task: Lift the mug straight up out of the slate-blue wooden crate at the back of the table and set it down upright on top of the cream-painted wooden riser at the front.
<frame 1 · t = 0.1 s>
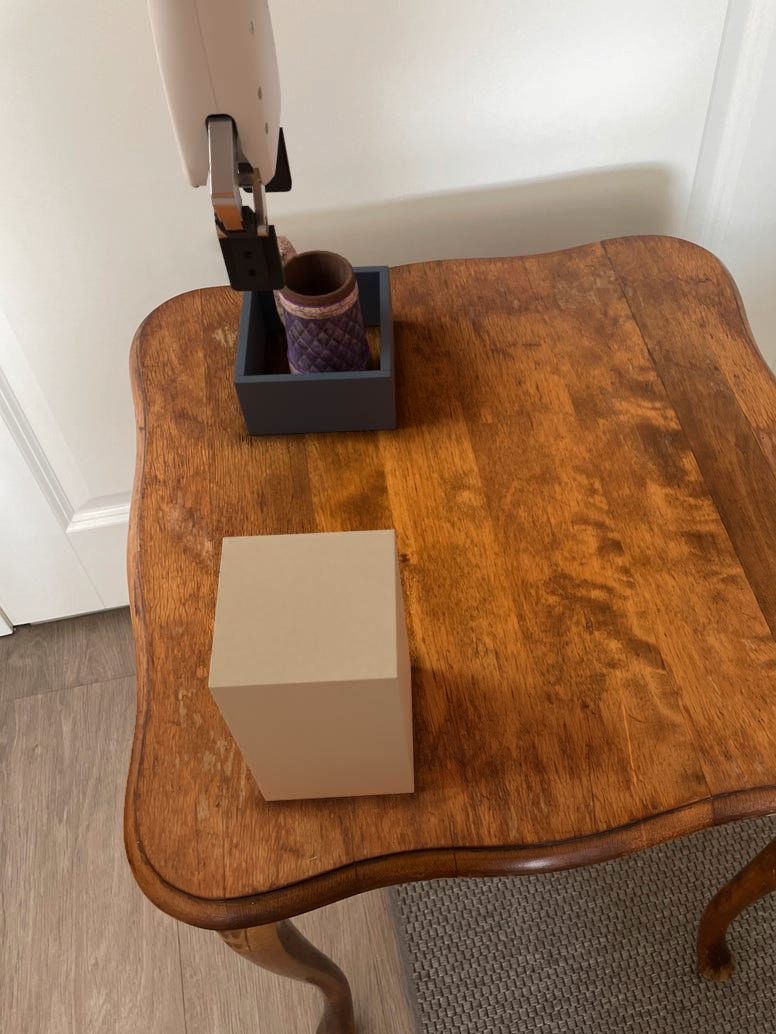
hand: (263, 236, 59), 22 cm above the table, tool pointing down, fingers open, 9 cm apart
mug: (324, 376, 84), resting in crate
riser: (341, 730, 66), on the table
crate: (324, 375, 84), on the table
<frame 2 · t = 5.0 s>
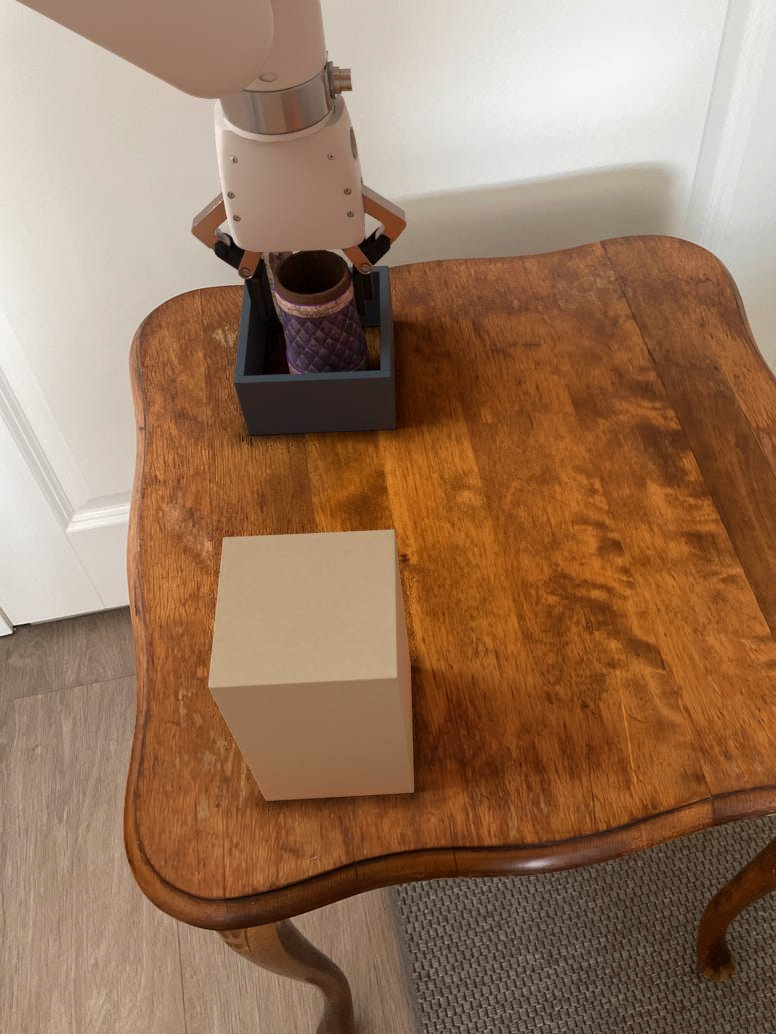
hand: (314, 305, 78), 7 cm above the table, tool pointing down, fingers closed on mug, 7 cm apart
mug: (324, 376, 84), resting in crate, touching gripper
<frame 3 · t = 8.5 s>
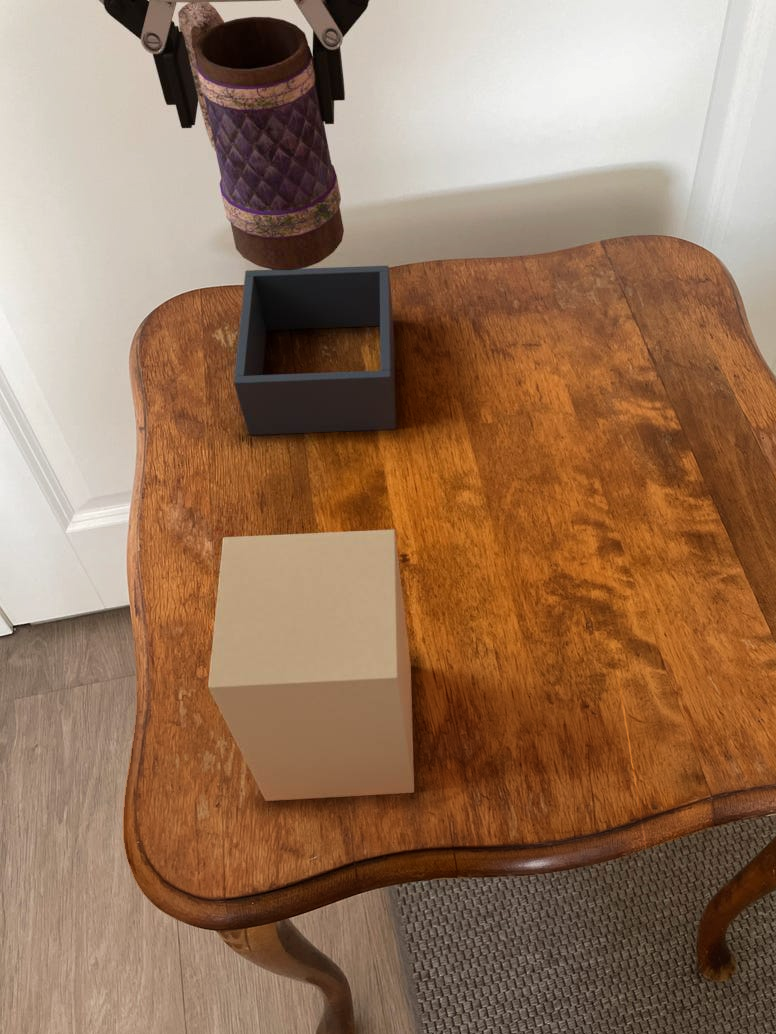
hand: (259, 111, 54), 29 cm above the table, tool pointing down, fingers closed on mug, 7 cm apart
mug: (277, 231, 60), point 22 cm above the table, touching gripper
when the fingers open (23 cm above the table, at t = 12.3 s): mug stays where it is, resting on riser.
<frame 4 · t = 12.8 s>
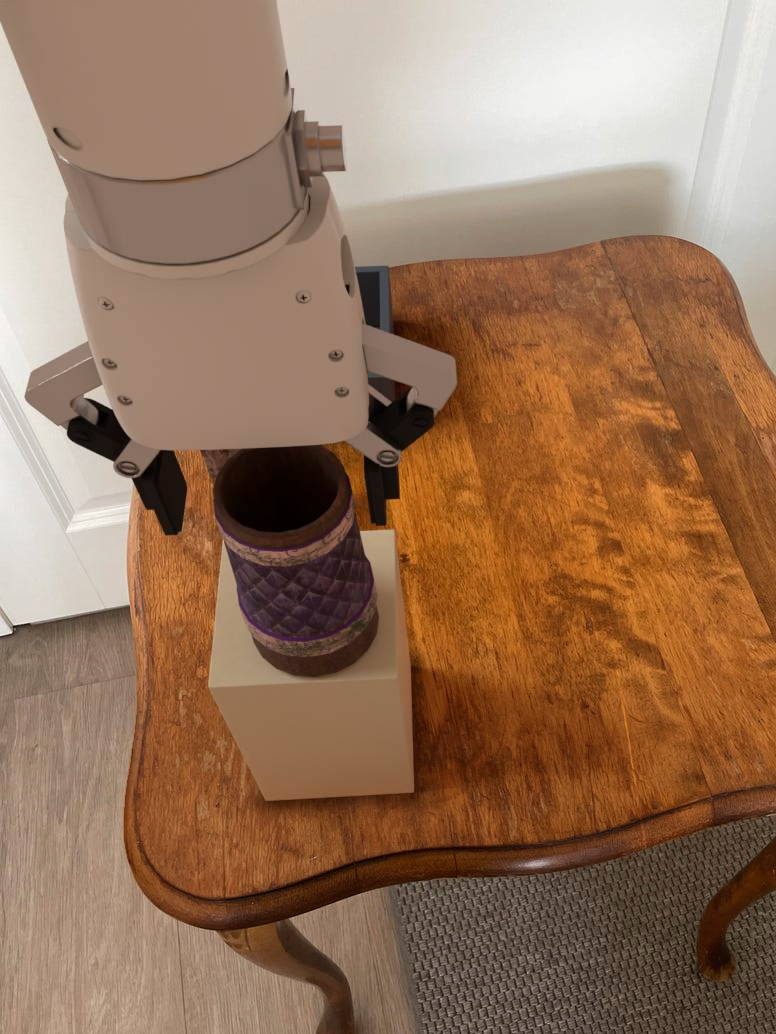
hand: (278, 507, 45), 24 cm above the table, tool pointing down, fingers open, 9 cm apart
mug: (301, 608, 52), point 16 cm above the table, touching riser
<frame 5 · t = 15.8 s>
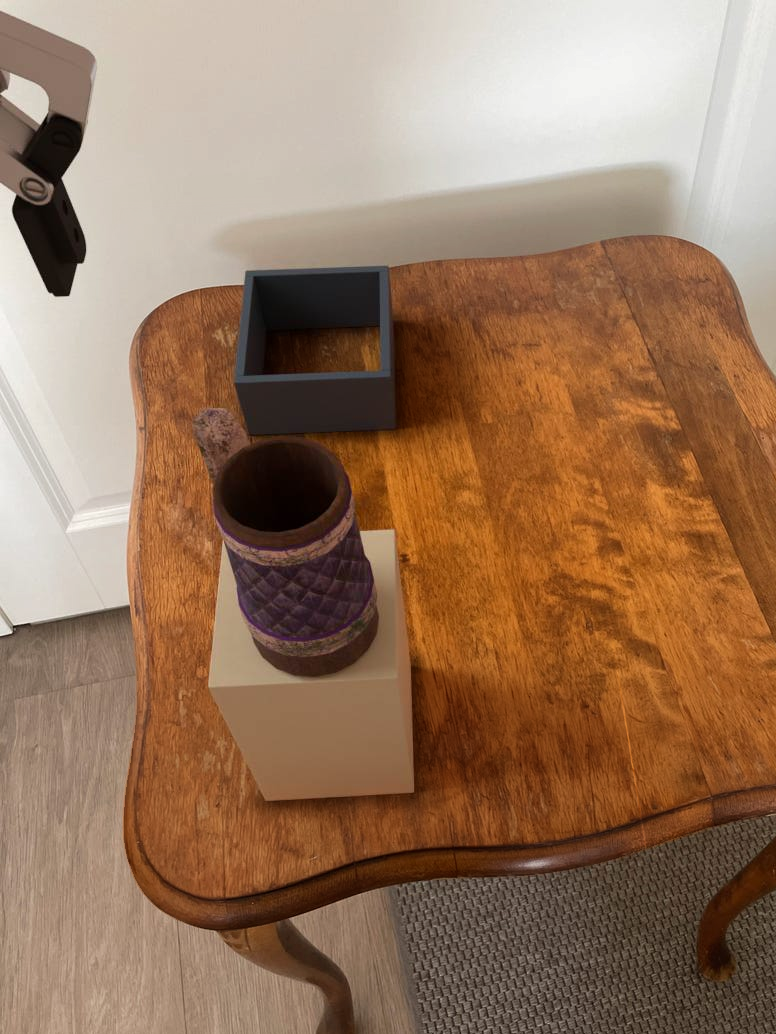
nothing on the table moved.
at the end: mug inside the target area on the riser (0.4 cm from its centre), point 15.8 cm above the riser's base; mug tilted 0°; the gripper is holding nothing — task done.
